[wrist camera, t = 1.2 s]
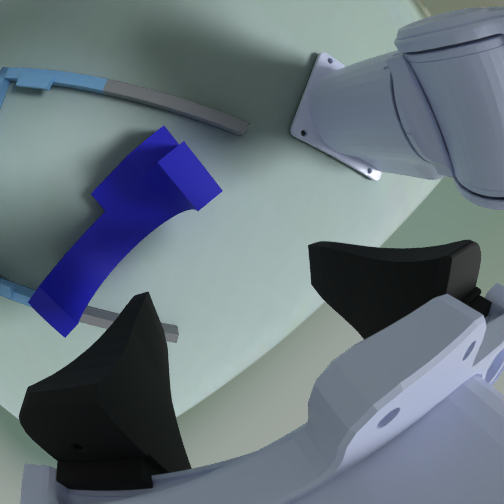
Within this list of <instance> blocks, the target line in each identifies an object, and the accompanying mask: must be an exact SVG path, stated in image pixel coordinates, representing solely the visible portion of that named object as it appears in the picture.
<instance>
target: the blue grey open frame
mask: <svg viewBox="0 0 504 504" xmlns="http://www.w3.org/2000/svg"><path fill="white" fill-rule="evenodd" d="M11 81H17V83H16V86H18V87H26V88H36V89H44V90H50V88H51V85H55V86H62V87H68V88H75V89H80V90H86V91H91V92H96V93H101V94H106V95H110V96H115V97H119V98H123V99H127V100H131V101H135V102H139V103H143V104H146V105H150V106H154V107H157V108H161V109H164V110H167V111H171V112H174V113H177V114H180V115H184V116H187V117H190V118H193V119H196V120H199V121H202V122H205V123H207V124H210V125H213V126H216V127H219V128H221V129H224V130H227V131H229V132H232V133H235V134H237V135H244V134H245V133H246V130H247V128H248V125H249V123H248V122H245V121H243V120H240V119H238V118H235V117H233V116H230V115H228V114H225V113H222V112H220V111H217V110H214V109H211V108H209V107H206V106H203V105H200V104H197V103H194V102H191V101H188V100H185V99H182V98H179V97H175V96H172V95H169V94H165V93H162V92H158V91H155V90H151V89H147V88H144V87H140V86H136V85H132V84H128V83H123V82H119V81H114V80H109V79H105V78H99V77H94V76H88V75H82V74H76V73H69V72H62V71H53V70H43V69H31V68H8V67H2V68H1V70H0V108H1V106H2V103H3V100H4V97H5V95H6V92H7V89H8V87H9V85H10V82H11ZM35 291H36V290H33V289H30V288H27V287H24V286H21V285H18V284H16V283H13V282H10V281H7V280H5V279H2V278H0V295H1V296H3V297H6V298H9V299H11V300H14V301H16V302H19V303H22V304H25V305H28V306H30V305H29V304H28V301H29V300H30V298H31V297H32V295H33V294H34V293H35ZM30 307H31V306H30ZM119 315H120V314H117V313H113V312H109V311H105V310H101V309H97V308H93V307H89V306H86V308H85V310H84V312H83V314H82V316H81V318H80V320H79V322H82V323H86V324H90V325H94V326H98V327H102V328H106V329H108V328H109V327H110V326H111V324H112V323H113V322H114V321H115V320H116V318H117V317H118V316H119ZM161 324H162V327H163V329H164V332H165V338H166V341H169V342H175V343H177V339H178V335H179V333H178V327H177V326H174V325H169V324H164V323H161Z"/></svg>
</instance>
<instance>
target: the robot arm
mask: <svg viewBox="0 0 504 504" xmlns="http://www.w3.org/2000/svg"><path fill="white" fill-rule="evenodd" d="M394 43H395V45H396V47H397V48H398V51H394V52H390V53H387V54H383V55H380V56H377V57H373V58H370V59H367V60H364V61H361V62H358V63H355V64H352V65H350V66H347V67H346V66H345V65H343V64H342V63H340V62H339V61H337V60H336V59H334V58H333V57H331V56H330V55H328V54H326V53H320V54H319V55H318V57H317V59H316V62H315V64H314V67H313V70H312V72H311V75H310V78H309V80H308V83H307V86H306V88H305V91H304V94H303V96H302V99H301V101H300V104H299V107H298V109H297V112H296V115H295V117H294V120H293V123H292V126H291V129H290V132H291V134H292V135H293V136H294V137H296V138H298V139H300V140H302V141H304V142H306V143H308V144H310V145H312V146H314V147H316V148H318V149H319V150H321V151H323V152H325V153H327V154H329V155H331V156H332V157H334V158H336V159H338V160H340V161H341V162H343V163H345V164H347V165H348V166H350V167H352V168H353V169H355V170H357V171H358V172H360V173H362V174H363V175H365V176H367V177H368V178H370V179H371V180H374V181H378V180H379V178H380V176H381V173H382V172H387V173H394V174H400V175H406V176H412V177H417V178H423V179H428V180H435V179H440V178H443V177H445V176H448V177H452V178H454V182H455V185H456V187H457V189H458V190H459V192H460V193H461V194H462V195H463V196H464V197H465V198H466V199H467V200H469V201H470V202H472V203H474V204H476V205H478V206H481V207H485V208H490V209H495V210H504V7H487V8H468V9H461V10H456V11H451V12H447V13H442V14H438V15H435V16H431V17H428V18H425V19H422V20H419V21H416V22H413V23H411V24H408V25H406V26H404V27H402V28H400V29H399V30H398V33H397V38H396V39H395V41H394ZM328 60H329V61H330V63H329V62H328ZM302 130H303V131H304V133H305V135H304V137H303V136H302V135H301V131H302ZM367 169H368V170H369V171H368V172H367ZM308 249H309V260H310V272H311V284H312V286H313V287H314V288H315V290H316V291H317V292H318V294H319V295H320V296H321V297H322V299H323V300H324V301H326V302H327V303H328V304H329V305H330V306H331V307H332V308H333V309H334V310H335V311H336V312H338V314H340V315H341V316H342V317H343V318H344V319H345V320H346V321H347V322H348V323H349V324H351V325H352V326H353V327H354V328H355V329H356V330H357V331H358V332H359V334H360V335H361V336H362V337H363V338H364V340H363V341H361V342H359V343H357V344H355V345H354V346H352V347H351V348H350V349H348V350H347V351H345V352H344V353H343V354H341V355H340V356H338V357H337V358H335V359H334V360H333V361H332V362H331V363H330V364H329V366H328V367H327V368H326V369H325V370H324V371H323V373H322V374H321V375H320V376H319V377H318V378H317V380H316V381H315V384H314V387H313V390H312V393H311V396H310V399H309V402H308V422H307V423H305V424H303V425H302V426H300V427H299V428H297V429H295V430H294V431H292V432H291V433H289V434H287V435H285V436H284V437H282V438H280V439H278V440H277V441H275V442H273V443H271V444H269V445H267V446H266V447H264V448H262V449H260V450H258V451H256V452H253V453H250V454H246V455H243V456H240V457H237V458H233V459H230V460H226V461H222V462H219V463H215V464H211V465H207V466H202V467H198V468H194V469H192V468H191V466H190V463H189V460H188V457H187V454H186V451H185V448H184V445H183V442H182V439H181V435H180V431H179V428H178V424H177V420H176V416H175V412H174V408H173V403H172V398H171V391H170V378H169V362H168V348H167V343H166V338H165V332H164V329H163V327H162V324H161V322H160V320H159V317H158V315H157V312H156V310H155V307H154V305H153V302H152V299H151V297H150V294H149V292H145V293H142V294H138V295H135V296H134V297H133V298H132V299H131V300H130V302H129V303H128V304H127V305H126V307H125V308H124V309H123V311H122V312H121V313H120V315H119V316H118V317H117V318H116V320H115V321H114V322H113V323H112V324H111V326H110V327H109V328H108V329H107V330H106V332H105V333H104V334H103V335H102V336H101V337H100V338H99V339H98V340H97V341H96V342H95V343H94V344H93V345H92V346H91V347H90V348H89V349H87V350H86V351H85V352H84V353H83V354H81V355H80V356H79V357H78V358H76V359H75V360H74V361H73V362H71V363H70V364H68V365H67V366H65V367H64V368H62V369H61V370H59V371H58V372H56V373H55V374H53V375H51V376H49V377H47V378H45V379H43V380H41V381H40V382H38V383H36V384H34V385H31V386H29V387H28V388H27V391H26V394H25V397H24V401H23V404H22V407H21V410H20V414H19V420H20V423H21V425H22V427H23V428H24V430H25V432H26V433H27V434H28V435H29V436H30V437H31V438H32V440H34V441H35V442H36V443H37V444H38V445H39V446H40V447H41V448H42V449H44V450H45V451H46V452H47V453H48V454H50V455H51V456H52V457H53V458H54V459H56V460H57V461H58V463H57V469H55V468H53V467H50V466H46V465H36V464H25V465H24V471H23V479H22V489H21V503H20V504H504V396H503V395H502V394H501V393H500V392H498V391H497V390H496V389H495V388H494V387H492V386H493V385H494V383H495V382H496V380H497V379H498V377H499V376H500V374H501V373H502V372H503V370H504V286H502V285H500V284H498V283H496V284H495V285H494V286H493V287H492V288H491V289H490V290H489V291H488V293H487V294H486V296H485V298H483V297H482V296H480V294H481V290H480V289H479V288H478V287H476V282H477V277H478V273H479V268H480V262H481V251H480V247H479V245H478V244H477V243H476V242H473V241H471V240H462V241H458V242H454V243H449V244H445V245H439V246H432V247H425V248H409V249H408V248H406V249H396V248H377V247H367V246H359V245H352V244H345V243H337V242H327V241H321V242H317V243H313V244H310V245H308Z"/></svg>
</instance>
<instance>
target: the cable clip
mask: <svg viewBox="0 0 504 504" xmlns="http://www.w3.org/2000/svg"><path fill="white" fill-rule="evenodd" d="M221 192H222V189H221V188H220V187H219V186H218V184H217V183H216V182H215V180H214V179H213V178H212V177H211V175H210V174H209V173H208V171H207V170H206V169H205V168H204V166H203V165H202V164H201V162H200V161H199V160H198V159H197V157H196V156H195V155H194V154H193V152H192V151H191V150H190V148H189V147H188V146H187V145H186V143H185V142H184V141H183V142H182V143H181V144H180V145H179V144H178V143H177V141H176V140H175V139H174V138H173V136H172V135H171V134H170V132H169V131H168V130H167V129H166V127H165V126H163V127H161V128H160V129H159V130H157V131H156V132H155V133H154V134H152V135H151V136H150V137H149V138H147V139H146V140H145V141H144V142H143V143H141V144H140V145H139V146H138V147H137V148H136V149H134V150H133V151H132V152H131V153H130V154H129V155H127V156H126V158H125V159H124V160H123V161H122V162H121V163H120V164H119V165H118V166H117V167H116V168H115V169H114V170H113V171H112V173H111V174H110V175H109V176H108V177H107V178H106V179H105V180H104V181H103V182H102V183H101V184H100V185H99V186H98V187H97V188H96V189H95V190H94V191H93V192H92V193H91V195H92V196H93V197H94V198H95V199H96V201H97V202H98V203H99V204H100V205H101V207H102V208H103V209H104V210H105V212H104V213H103V214H102V215H101V216H100V217H99V218H98V219H97V220H96V221H95V222H94V224H93V225H92V226H91V227H90V228H89V229H88V230H87V231H86V232H85V233H84V234H83V235H82V236H81V237H80V238H79V240H78V241H77V242H76V243H75V244H74V245H73V246H72V247H71V249H70V250H69V251H68V252H67V253H66V254H65V255H64V257H63V258H62V259H61V260H60V261H59V262H58V264H57V265H56V266H55V267H54V268H53V270H52V271H51V272H50V273H49V275H48V276H47V277H46V278H45V280H44V281H43V282H42V283H41V285H40V286H39V287H38V289H37V290H36V291H35V293H34V294H33V295H32V297H31V298H30V300H29V301H28V304H29V305H30V306H31V307H32V308H33V309H34V310H35V311H36V312H37V313H38V314H39V315H41V316H42V317H43V318H44V319H45V320H46V321H47V322H48V323H49V324H50V325H51V326H52V327H53V328H54V329H56V330H57V331H58V332H59V333H60V334H61V335H62V336H64V337H66V336H67V335H68V334H69V333H70V332H71V331H72V330H73V329H74V328H75V327H76V325H77V324H78V323H79V320H80V318H81V316H82V314H83V312H84V310H85V308H86V306H87V305H88V303H89V301H90V300H91V298H92V297H93V295H94V294H95V292H96V291H97V289H98V288H99V287H100V285H101V284H102V283H103V281H104V280H105V279H106V277H107V276H108V275H109V274H110V273H111V271H112V270H113V269H114V268H115V267H116V266H117V264H118V263H119V262H120V261H121V260H122V259H123V258H124V257H125V256H126V255H127V254H128V253H129V252H130V251H131V250H132V249H133V248H134V247H135V246H136V245H137V244H138V243H139V242H140V241H141V240H142V239H144V238H145V237H146V236H147V235H148V234H149V233H151V232H152V231H153V230H154V229H156V228H157V227H158V226H160V225H161V224H163V223H164V222H165V221H167V220H169V219H170V218H172V217H173V216H175V215H177V214H179V213H181V212H183V211H186V210H190V209H195V210H197V211H199V210H200V209H201V208H203V207H204V206H205V205H206V204H207V203H209V202H210V201H211V200H212V199H213V198H215V197H216V196H217V195H218V194H220V193H221Z"/></svg>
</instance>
